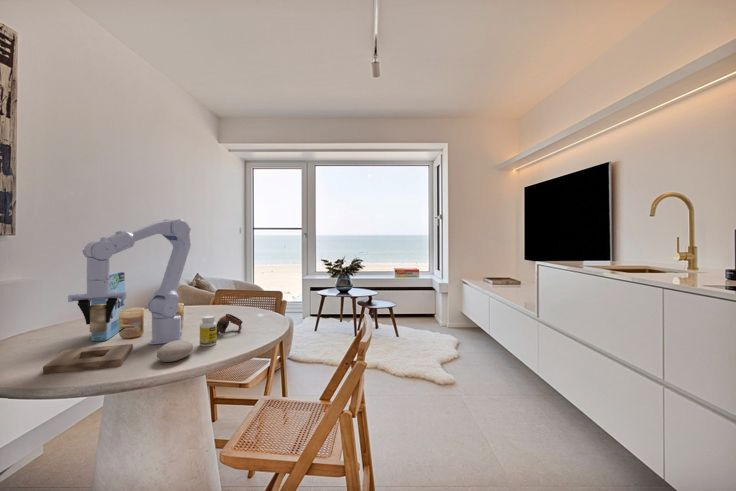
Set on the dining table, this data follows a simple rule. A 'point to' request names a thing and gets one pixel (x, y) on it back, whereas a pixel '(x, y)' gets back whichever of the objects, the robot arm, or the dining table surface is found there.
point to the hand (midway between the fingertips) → (98, 323)
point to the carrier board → (88, 358)
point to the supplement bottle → (208, 331)
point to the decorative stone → (174, 350)
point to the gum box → (113, 326)
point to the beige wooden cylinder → (98, 318)
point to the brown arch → (224, 323)
